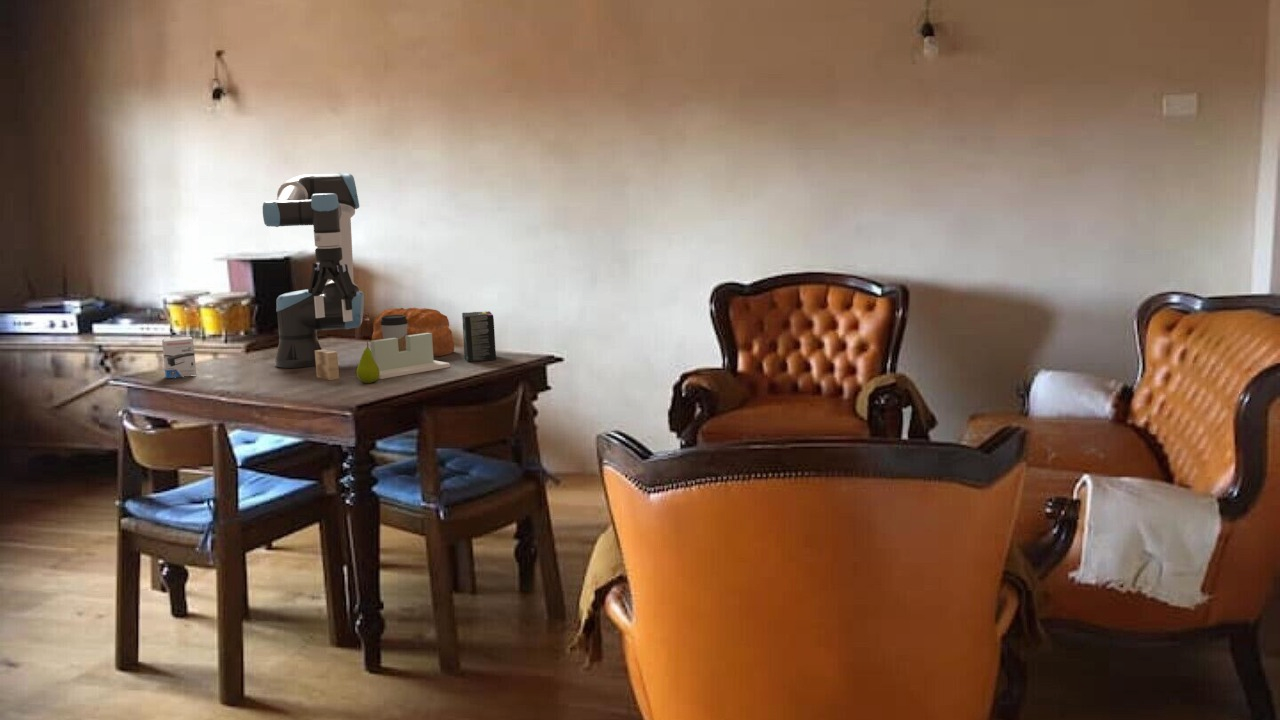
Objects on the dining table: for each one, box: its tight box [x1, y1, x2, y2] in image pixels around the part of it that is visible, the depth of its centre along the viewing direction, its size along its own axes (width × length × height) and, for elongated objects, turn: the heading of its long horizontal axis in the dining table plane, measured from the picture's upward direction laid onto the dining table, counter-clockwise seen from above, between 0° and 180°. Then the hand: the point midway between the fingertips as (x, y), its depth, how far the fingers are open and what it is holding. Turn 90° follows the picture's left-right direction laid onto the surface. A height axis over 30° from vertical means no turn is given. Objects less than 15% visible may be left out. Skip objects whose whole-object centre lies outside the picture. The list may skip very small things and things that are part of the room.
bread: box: [371, 307, 455, 358], centre depth 364 cm, size 14×26×16 cm, turn 69°
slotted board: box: [369, 333, 451, 380], centre depth 334 cm, size 14×24×10 cm, turn 134°
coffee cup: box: [381, 315, 408, 351], centre depth 346 cm, size 8×8×15 cm
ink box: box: [161, 336, 197, 379], centre depth 334 cm, size 8×5×12 cm, turn 117°
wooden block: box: [315, 348, 340, 381], centre depth 326 cm, size 8×3×8 cm, turn 44°
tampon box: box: [461, 311, 497, 363], centre depth 351 cm, size 11×9×15 cm
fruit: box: [356, 340, 380, 384], centre depth 316 cm, size 6×6×12 cm
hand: (334, 319), depth 324 cm, fingers open, 13 cm apart
